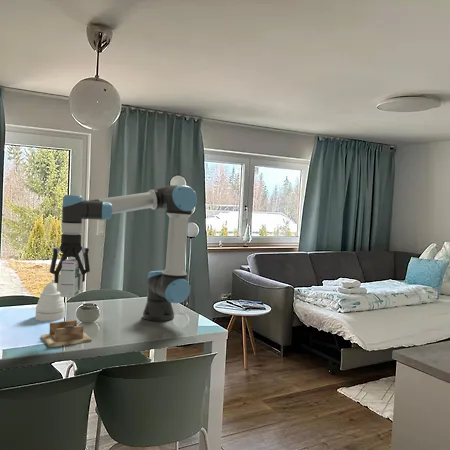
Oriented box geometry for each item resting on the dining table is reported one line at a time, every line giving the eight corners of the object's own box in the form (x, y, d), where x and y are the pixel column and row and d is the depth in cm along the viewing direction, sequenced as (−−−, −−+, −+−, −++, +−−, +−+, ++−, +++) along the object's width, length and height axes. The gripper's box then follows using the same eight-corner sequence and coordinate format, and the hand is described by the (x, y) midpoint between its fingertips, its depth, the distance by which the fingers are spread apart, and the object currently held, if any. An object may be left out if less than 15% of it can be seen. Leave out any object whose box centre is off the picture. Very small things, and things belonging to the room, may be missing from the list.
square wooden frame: (81, 332, 184) (81, 316, 184) (91, 341, 173) (91, 324, 172) (41, 337, 175) (41, 321, 175) (49, 347, 164) (49, 330, 163)
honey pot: (50, 312, 213) (51, 276, 213) (70, 316, 208) (71, 279, 208) (29, 318, 202) (30, 280, 201) (50, 322, 197) (51, 283, 196)
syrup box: (74, 297, 171) (75, 261, 170) (59, 296, 171) (60, 260, 170) (78, 294, 177) (80, 259, 176) (64, 294, 177) (65, 258, 176)
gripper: (94, 233, 182) (92, 287, 183) (42, 232, 170) (40, 290, 171) (100, 234, 175) (97, 290, 176) (46, 234, 164) (44, 293, 165)
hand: (69, 290), depth 174 cm, fingers closed on syrup box, 8 cm apart
